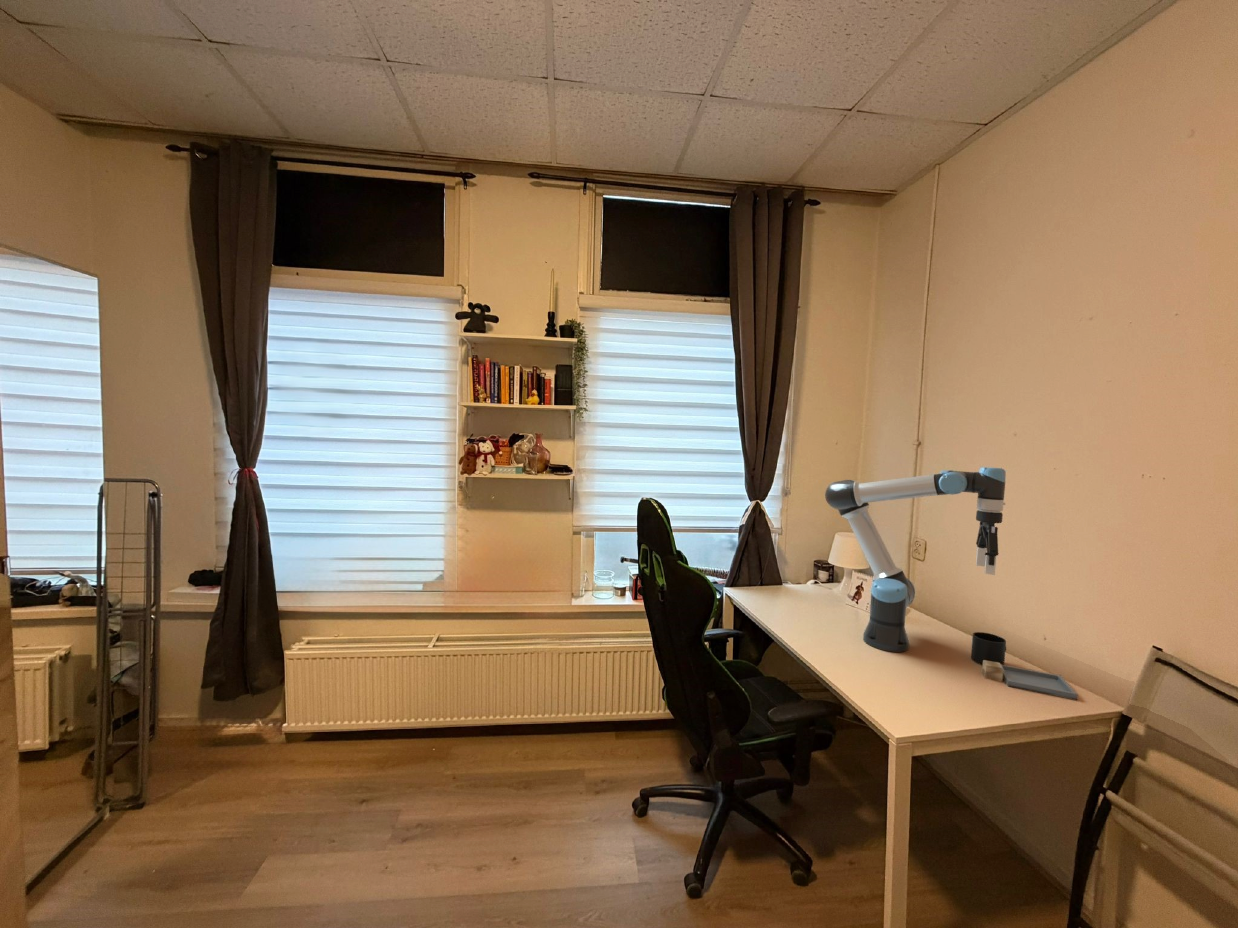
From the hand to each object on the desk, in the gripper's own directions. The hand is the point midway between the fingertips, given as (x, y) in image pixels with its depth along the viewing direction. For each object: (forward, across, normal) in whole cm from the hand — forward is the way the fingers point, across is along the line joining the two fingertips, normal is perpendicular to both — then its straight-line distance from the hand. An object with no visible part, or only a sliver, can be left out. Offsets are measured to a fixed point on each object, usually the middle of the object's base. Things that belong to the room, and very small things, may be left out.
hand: (985, 569), depth 179 cm
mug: (+32, -4, -3) cm, 32 cm away
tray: (+32, -16, -12) cm, 37 cm away
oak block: (+32, -18, 0) cm, 36 cm away
